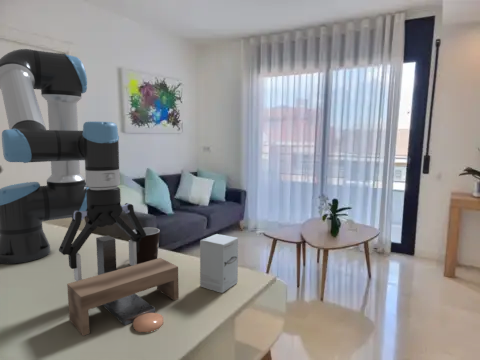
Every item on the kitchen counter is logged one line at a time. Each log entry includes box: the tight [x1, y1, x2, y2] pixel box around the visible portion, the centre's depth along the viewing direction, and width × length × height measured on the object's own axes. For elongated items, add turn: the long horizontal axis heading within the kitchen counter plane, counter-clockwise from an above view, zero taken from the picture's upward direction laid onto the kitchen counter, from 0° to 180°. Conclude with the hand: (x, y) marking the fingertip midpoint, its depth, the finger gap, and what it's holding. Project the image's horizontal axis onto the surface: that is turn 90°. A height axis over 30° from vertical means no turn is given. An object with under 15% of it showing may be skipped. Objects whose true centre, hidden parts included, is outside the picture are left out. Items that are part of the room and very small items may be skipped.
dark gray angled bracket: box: [95, 234, 156, 326], centre depth 77 cm, size 18×7×14 cm, turn 44°
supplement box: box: [199, 233, 239, 294], centre depth 87 cm, size 7×7×13 cm
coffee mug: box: [130, 227, 161, 264], centre depth 103 cm, size 12×9×10 cm
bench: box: [66, 257, 180, 337], centre depth 75 cm, size 8×22×8 cm, turn 134°
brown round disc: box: [132, 312, 164, 333], centre depth 69 cm, size 6×6×1 cm
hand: (107, 272), depth 82 cm, fingers open, 13 cm apart
